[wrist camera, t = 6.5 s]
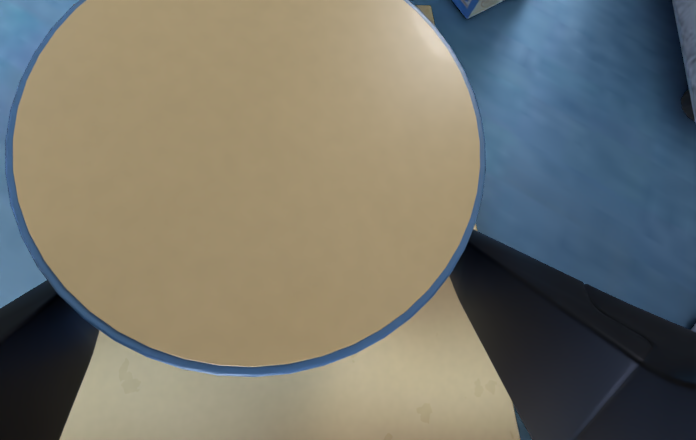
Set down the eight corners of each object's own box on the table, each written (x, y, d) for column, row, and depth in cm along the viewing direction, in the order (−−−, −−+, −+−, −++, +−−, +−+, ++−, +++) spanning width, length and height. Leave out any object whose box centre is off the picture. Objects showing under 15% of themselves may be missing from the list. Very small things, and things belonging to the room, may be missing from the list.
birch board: (531, 553, 14) (549, 573, 13) (69, 687, 11) (46, 724, 10) (424, 18, 19) (431, 4, 18) (85, 19, 16) (71, 2, 15)
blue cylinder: (344, 365, 14) (399, 465, 6) (121, 270, 13) (-132, 245, 6) (423, 163, 16) (535, 47, 8) (235, 78, 16) (171, -128, 8)
